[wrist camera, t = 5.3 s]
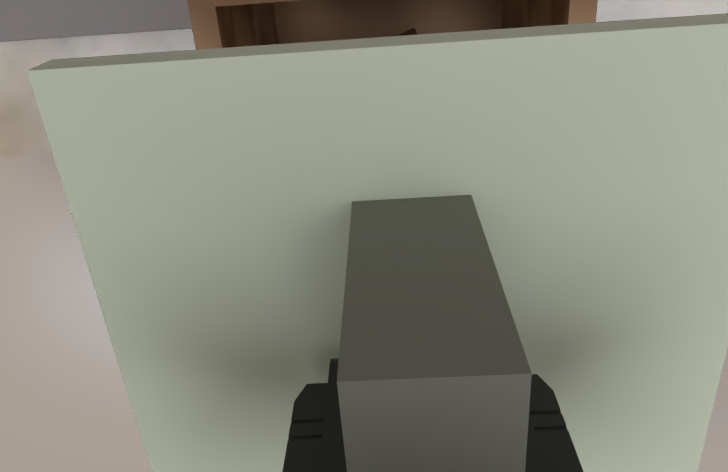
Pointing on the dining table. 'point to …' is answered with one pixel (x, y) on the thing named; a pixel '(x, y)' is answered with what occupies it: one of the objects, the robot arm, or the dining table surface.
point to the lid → (410, 240)
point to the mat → (88, 17)
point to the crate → (368, 18)
